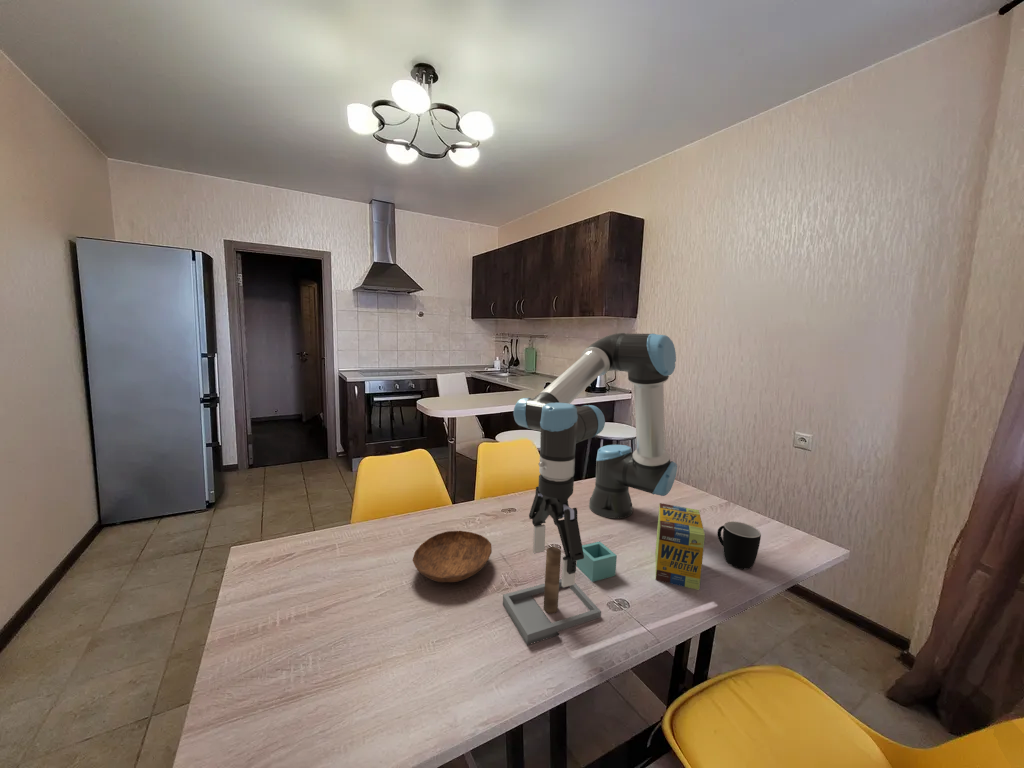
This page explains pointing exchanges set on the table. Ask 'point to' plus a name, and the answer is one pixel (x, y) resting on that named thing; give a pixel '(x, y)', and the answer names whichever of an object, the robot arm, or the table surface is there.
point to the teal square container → (597, 561)
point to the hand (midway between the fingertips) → (552, 567)
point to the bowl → (452, 556)
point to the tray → (534, 619)
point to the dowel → (552, 580)
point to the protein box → (679, 546)
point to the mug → (739, 544)
